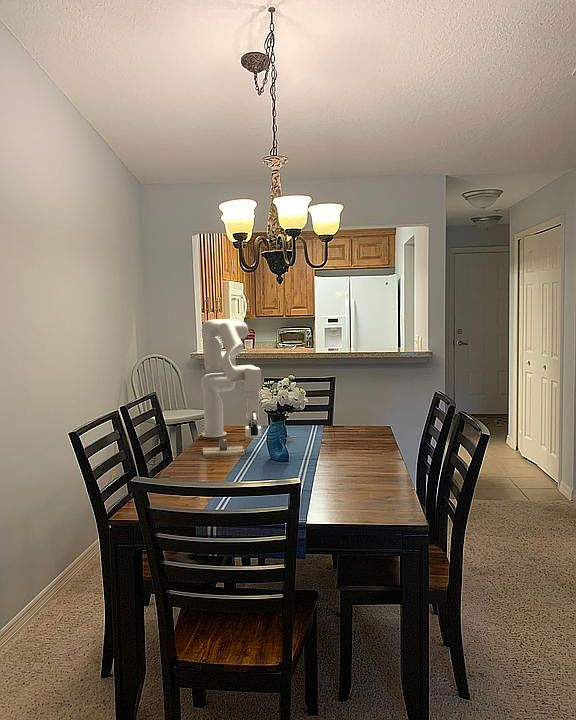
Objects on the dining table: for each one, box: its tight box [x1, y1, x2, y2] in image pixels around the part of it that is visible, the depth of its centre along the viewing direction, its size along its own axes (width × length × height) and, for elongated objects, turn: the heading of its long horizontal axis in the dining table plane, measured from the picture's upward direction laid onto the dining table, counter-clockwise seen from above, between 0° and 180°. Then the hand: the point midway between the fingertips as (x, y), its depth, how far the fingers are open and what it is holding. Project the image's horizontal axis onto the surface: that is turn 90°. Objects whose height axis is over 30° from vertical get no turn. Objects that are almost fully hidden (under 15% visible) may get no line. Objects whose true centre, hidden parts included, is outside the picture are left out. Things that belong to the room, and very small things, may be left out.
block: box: [202, 445, 246, 458], centre depth 293 cm, size 12×18×2 cm, turn 99°
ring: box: [244, 425, 262, 439], centre depth 295 cm, size 7×7×4 cm
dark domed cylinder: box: [218, 438, 228, 451], centre depth 293 cm, size 3×3×4 cm
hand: (253, 433), depth 295 cm, fingers closed on ring, 7 cm apart
